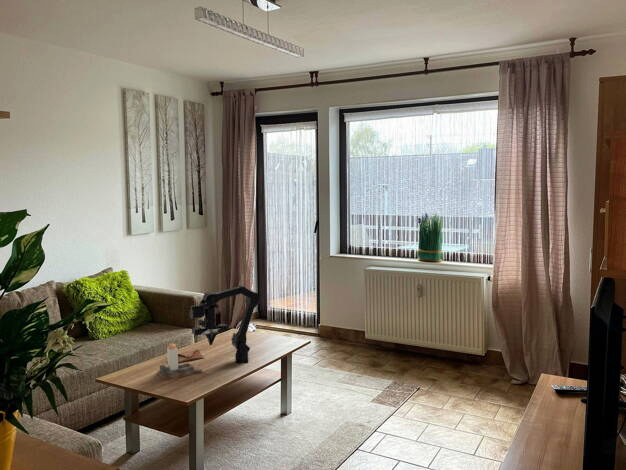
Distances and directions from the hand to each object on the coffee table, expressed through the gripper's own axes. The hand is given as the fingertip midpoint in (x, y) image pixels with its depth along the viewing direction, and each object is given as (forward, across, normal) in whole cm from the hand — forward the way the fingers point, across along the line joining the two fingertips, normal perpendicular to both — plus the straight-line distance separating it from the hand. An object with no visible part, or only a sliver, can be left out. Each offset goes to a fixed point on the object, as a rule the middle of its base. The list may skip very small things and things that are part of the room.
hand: (210, 345), depth 288 cm
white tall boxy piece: (+10, +21, 0) cm, 23 cm away
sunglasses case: (+13, +7, -19) cm, 24 cm away
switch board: (+12, +17, 0) cm, 21 cm away
